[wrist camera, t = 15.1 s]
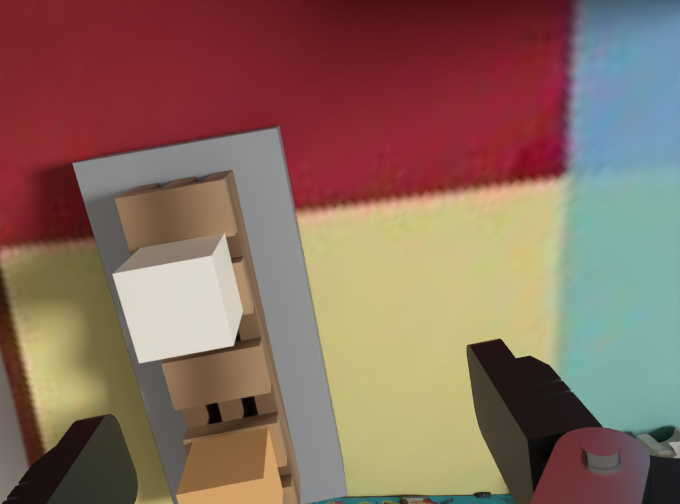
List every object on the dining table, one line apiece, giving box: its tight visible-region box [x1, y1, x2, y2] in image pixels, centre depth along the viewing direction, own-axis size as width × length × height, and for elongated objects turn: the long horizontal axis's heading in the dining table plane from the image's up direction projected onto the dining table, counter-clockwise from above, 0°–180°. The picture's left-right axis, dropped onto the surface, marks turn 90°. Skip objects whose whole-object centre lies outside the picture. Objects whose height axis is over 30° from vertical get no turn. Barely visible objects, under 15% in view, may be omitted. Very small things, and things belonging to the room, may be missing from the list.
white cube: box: [112, 233, 243, 363], centre depth 27 cm, size 4×4×4 cm
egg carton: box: [636, 428, 680, 458], centre depth 43 cm, size 11×8×4 cm
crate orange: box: [176, 428, 283, 504], centre depth 31 cm, size 4×4×4 cm
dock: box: [72, 125, 347, 504], centre depth 37 cm, size 12×26×4 cm, turn 9°
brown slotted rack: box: [115, 170, 300, 504], centre depth 33 cm, size 6×22×4 cm, turn 9°
